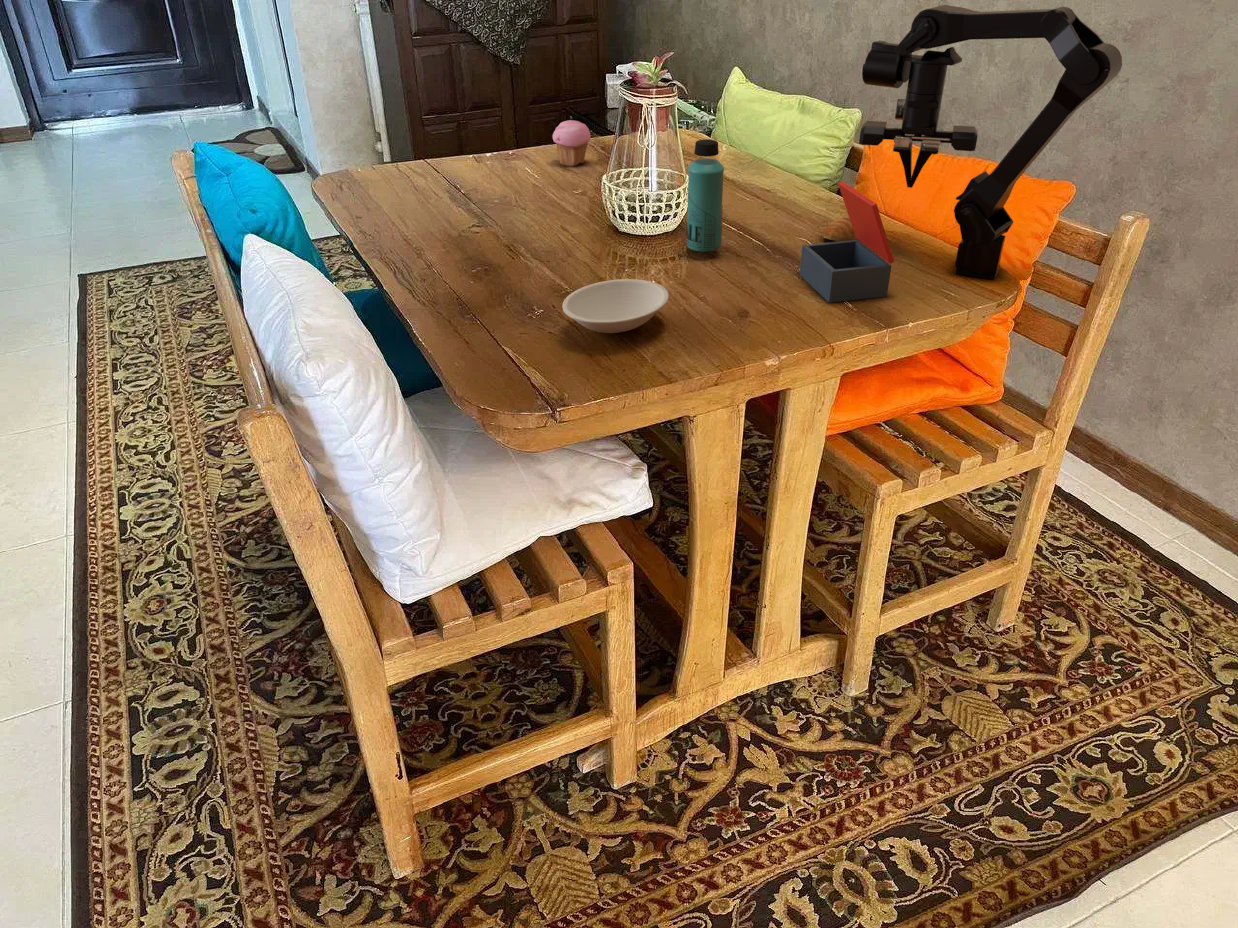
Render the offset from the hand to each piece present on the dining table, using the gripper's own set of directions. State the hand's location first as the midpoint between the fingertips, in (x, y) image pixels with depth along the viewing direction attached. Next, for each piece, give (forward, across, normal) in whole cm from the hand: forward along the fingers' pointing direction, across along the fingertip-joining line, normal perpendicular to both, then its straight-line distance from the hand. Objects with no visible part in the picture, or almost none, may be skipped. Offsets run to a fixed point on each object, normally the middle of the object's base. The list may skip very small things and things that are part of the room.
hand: (909, 187), depth 159 cm
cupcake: (+12, +78, -42) cm, 89 cm away
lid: (+2, +6, +17) cm, 18 cm away
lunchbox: (+12, +8, +18) cm, 23 cm away
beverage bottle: (+12, +34, +9) cm, 37 cm away
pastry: (+12, +10, -7) cm, 17 cm away
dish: (+12, +39, +45) cm, 61 cm away
